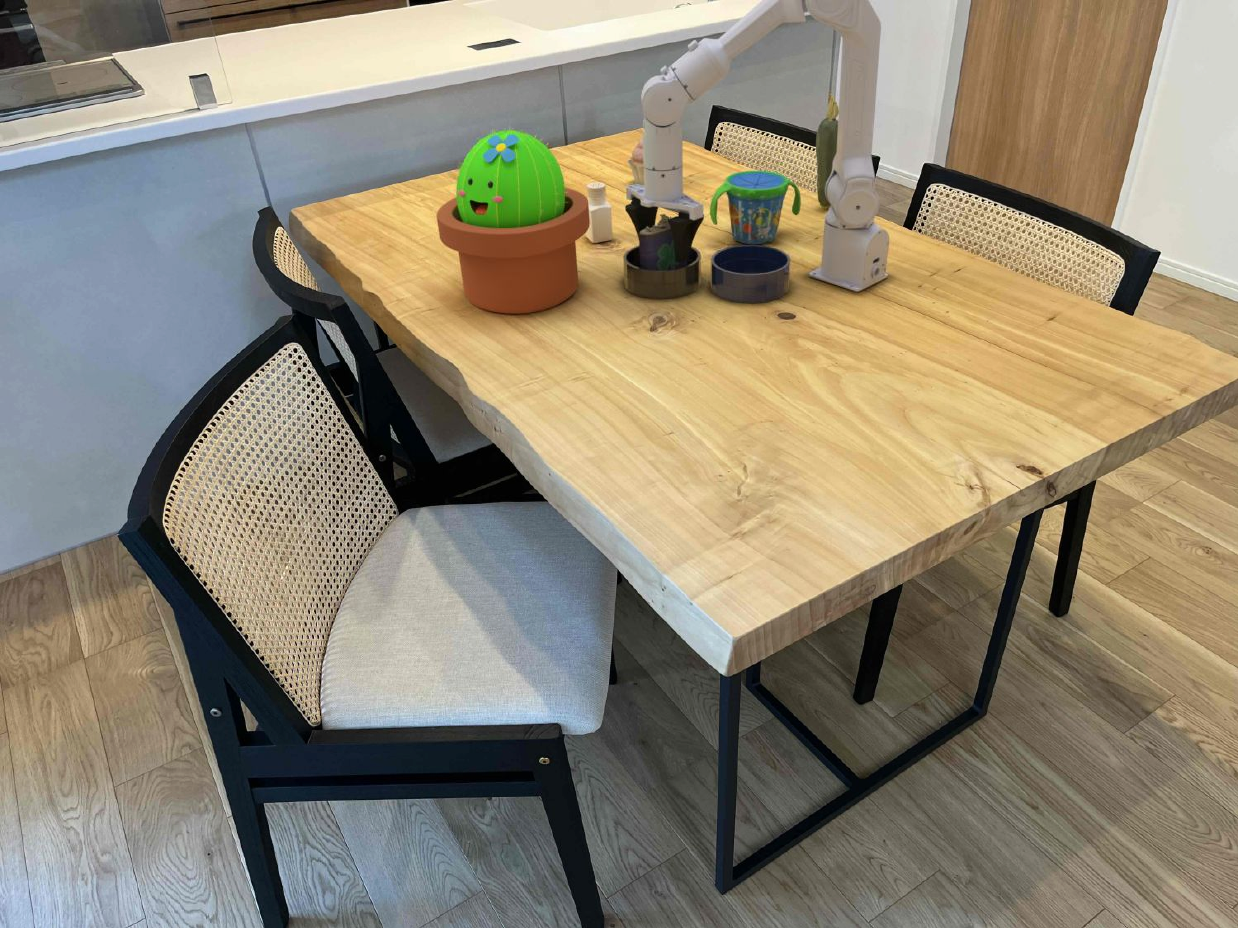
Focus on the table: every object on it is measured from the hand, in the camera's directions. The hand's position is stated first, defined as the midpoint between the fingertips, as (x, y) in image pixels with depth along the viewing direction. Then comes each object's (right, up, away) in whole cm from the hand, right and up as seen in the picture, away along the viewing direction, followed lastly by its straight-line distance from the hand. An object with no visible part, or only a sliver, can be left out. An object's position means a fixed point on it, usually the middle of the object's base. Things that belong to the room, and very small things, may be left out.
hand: (664, 254), depth 144 cm
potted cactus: (-22, -5, +3) cm, 23 cm away
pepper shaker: (-10, +7, +20) cm, 24 cm away
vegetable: (+30, +14, +27) cm, 43 cm away
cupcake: (0, +24, +44) cm, 50 cm away
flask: (0, -4, +3) cm, 5 cm away
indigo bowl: (+13, -5, 0) cm, 14 cm away
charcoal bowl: (0, -4, +3) cm, 5 cm away
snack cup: (+16, +6, +17) cm, 24 cm away
